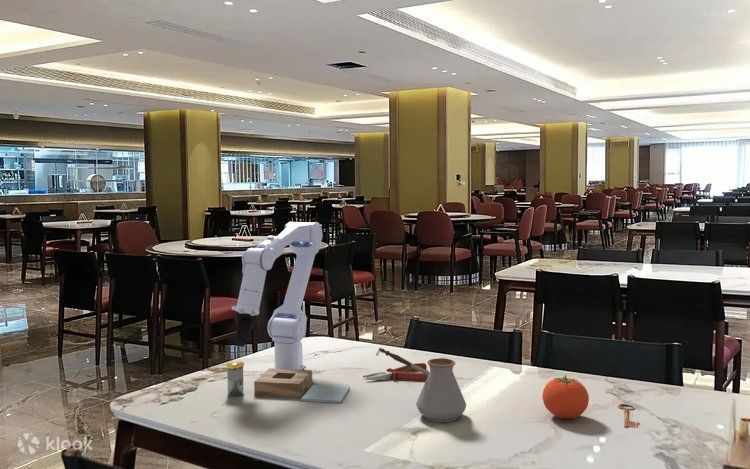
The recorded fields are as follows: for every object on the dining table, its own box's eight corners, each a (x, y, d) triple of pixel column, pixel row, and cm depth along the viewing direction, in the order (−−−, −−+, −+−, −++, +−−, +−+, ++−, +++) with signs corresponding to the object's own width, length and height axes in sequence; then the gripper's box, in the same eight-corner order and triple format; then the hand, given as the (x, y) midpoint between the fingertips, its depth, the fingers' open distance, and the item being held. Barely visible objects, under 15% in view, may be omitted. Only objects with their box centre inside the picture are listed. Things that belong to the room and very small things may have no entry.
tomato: (586, 411, 155) (587, 370, 154) (589, 427, 145) (591, 383, 144) (542, 408, 157) (542, 367, 157) (542, 423, 148) (542, 379, 147)
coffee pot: (470, 410, 156) (470, 348, 155) (461, 428, 145) (461, 361, 144) (383, 401, 162) (383, 341, 161) (369, 417, 152) (368, 353, 150)
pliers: (358, 376, 185) (358, 367, 185) (425, 370, 191) (425, 361, 191) (370, 388, 174) (370, 379, 174) (440, 381, 180) (440, 372, 180)
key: (644, 433, 144) (643, 410, 158) (644, 429, 144) (644, 406, 158) (616, 427, 146) (617, 405, 160) (616, 423, 146) (618, 401, 160)
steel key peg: (230, 390, 171) (230, 360, 170) (246, 391, 170) (246, 361, 170) (224, 396, 167) (223, 365, 166) (240, 397, 166) (240, 366, 165)
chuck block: (269, 380, 179) (269, 368, 179) (312, 383, 177) (312, 370, 177) (254, 394, 168) (254, 381, 167) (300, 397, 166) (299, 383, 165)
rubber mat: (312, 387, 174) (312, 385, 174) (349, 389, 172) (349, 386, 172) (301, 400, 163) (301, 398, 163) (340, 403, 161) (340, 400, 161)
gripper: (235, 294, 177) (224, 344, 173) (236, 285, 163) (224, 339, 159) (261, 299, 178) (251, 349, 174) (264, 290, 164) (253, 344, 160)
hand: (240, 345), depth 167 cm, fingers open, 7 cm apart
